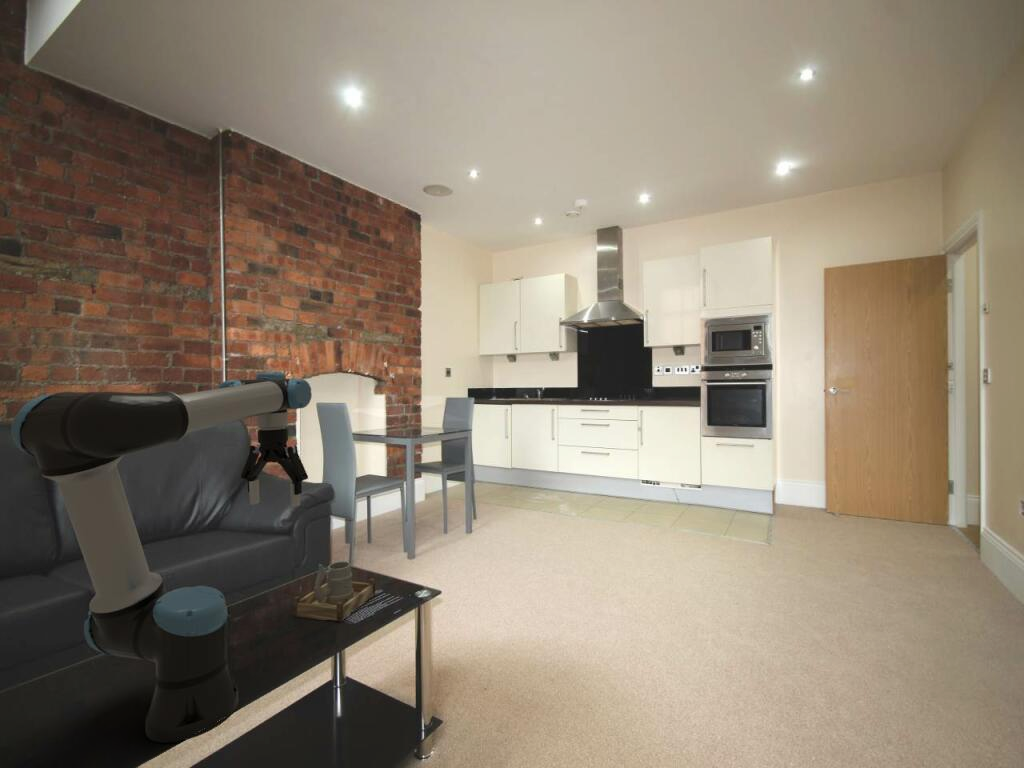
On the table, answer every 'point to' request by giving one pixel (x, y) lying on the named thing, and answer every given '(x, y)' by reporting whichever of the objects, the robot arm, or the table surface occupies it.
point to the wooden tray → (327, 611)
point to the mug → (335, 583)
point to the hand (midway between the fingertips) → (274, 505)
